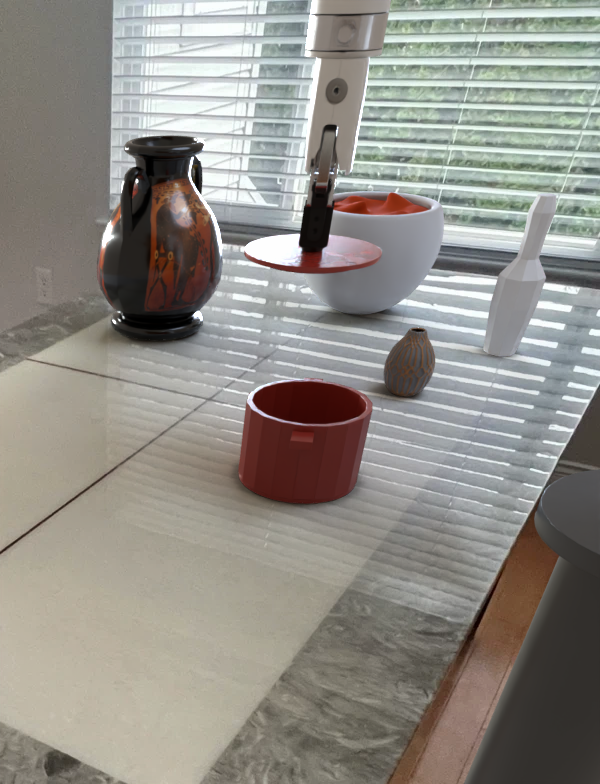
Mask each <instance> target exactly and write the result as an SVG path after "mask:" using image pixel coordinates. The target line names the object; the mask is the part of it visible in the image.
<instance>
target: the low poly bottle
mask: <svg viewBox="0 0 600 784" xmlns="http://www.w3.org/2000/svg"><path fill="white" fill-rule="evenodd" d="M556 212H557V194H554V193H549V192H544V193H538V194H537V195H536V197H535V199H534V200H533V202H532V204H531V205H530V208H529V209H528V211H527V217H526V221H525V227H524V232H523V236H522V239H521V241H520V246H519V248H518V252H517V255H516V257H515V258H514V259H513V260H512V261H511V262H510V263H509V264H508V265H506V266H505V268H504V269H502V270H501V271H500V273H498V276H497V279H496V283H495V286H494V289H493V294H492V297H491V299H490V303H489V310H488V316H487V323H486V329H485V334H484V341H483V346H482V350H483V352H485V353H486V354H488V355H491V356H496V357H510V356H513V355H515V354H516V353H517V350H518V348H519V347H520V344H521V342H522V340H523V338H524V335H525V333H526V331H527V329H528V326H529V325H530V322H531V320H532V318H533V316H534V313H535V312H536V309H537V307H538V303H539V300H540V298H541V295H542V292H543V288H544V285H545V282H546V280H547V276H546V274H545V271H544V267H543V266H542V262H541V261H540V256H541V253H542V249H543V246H544V244H545V240H546V237H547V234H548V231H549V229H550V228H551V224H552V222H553V219H554V217H555V215H556Z"/></svg>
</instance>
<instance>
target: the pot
mask: <svg viewBox="0 0 600 784" xmlns="http://www.w3.org/2000/svg"><path fill="white" fill-rule="evenodd" d="M333 200H335V204H334V210H333V216H332V222H331V228H330V234H329V235H336V236H344V237H350V238H355V239H359V240H363V241H366V242H369V243H372V244H374V245H376V246H377V247H379V248H380V249H381V251H382V255H381V259H380V260H379V261H378V262H377V263H376V264H373V265H371V266H368V267H365V268H361V269H356V270H350V271H345V272H339V273H329V274H304V273H302V274H303V277H304V280H305V282H306V284H307V286H308V287H309V289H310V290H311V292H312V294H314V296H315V297H316V298H317V299H318V300H319V301H320V302H322V303H323V304H324V305H325V306H327V307H329V308H331V309H332V310H334V311H336V312H339V313H343V314H348V315H370V314H371V315H372V314H376V313H380V312H382V311H385V310H387V309H390V308H392V307H394V306H396V305H397V304H399V303H401V302H402V301H404V300H405V299H406V298H409V296H411V294H412V293H414V292H415V291H416V290H417V288H418V287H419V286H420V285H421V284H422V283H423V281H424V280H425V279H426V277H427V276H428V275H429V273H430V271H431V270H432V268H433V266H434V264H435V263H436V261H437V258H438V256H439V253H440V250H441V247H442V243H443V238H444V231H445V215H444V208H443V205H442V203H440V202H438V201H437V200H435V199H433V198H431V197H427V196H423V195H418V194H412V193H407V192H406V193H405V192H398V191H397V192H396V191H379V190H374V191H373V190H367V191H365V190H363V191H362V190H361V191H347V192H339V193H334V196H333Z"/></svg>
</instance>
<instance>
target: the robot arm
mask: <svg viewBox="0 0 600 784" xmlns="http://www.w3.org/2000/svg"><path fill="white" fill-rule="evenodd" d="M391 4H392V0H311V6H310V14H309V19H308V29H307V37H306V42H305V43H306V44H305V52H304V57H307V58H312V59H315V66H314V73H313V81H312V89H311V96H310V104H309V112H308V122H307V131H306V145H305V159H304V161H305V162H304V164H305V165H304V171H305V173H306V174H308V175H309V184H308V191H307V197H306V199H305V203H304V205H303V210H302V217H301V223H300V224H301V225H300V230H299V231H300V232H299V234H300V237H299V246H300V247H307V248H326V247H327V245H328V240H329V234H330V228H331V222H332V216H333V210H334V204H335V200H333V196H334V194H335V189H336V183H337V179H338V172H339V171H344V176H349V175H350V173H352V170H353V166H354V160H355V155H356V149H357V143H358V138H359V132H360V127H361V121H362V115H363V109H364V105H365V97H366V91H367V85H368V77H369V69H370V59H371V58H374V57H380V56H382V54H383V49H384V48H383V47H384V43H385V38H386V31H387V26H388V22H389V21H388V20H389V16H390V15H389V14H390V9H391ZM328 194H329V196H328ZM311 203H312V205H311Z"/></svg>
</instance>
